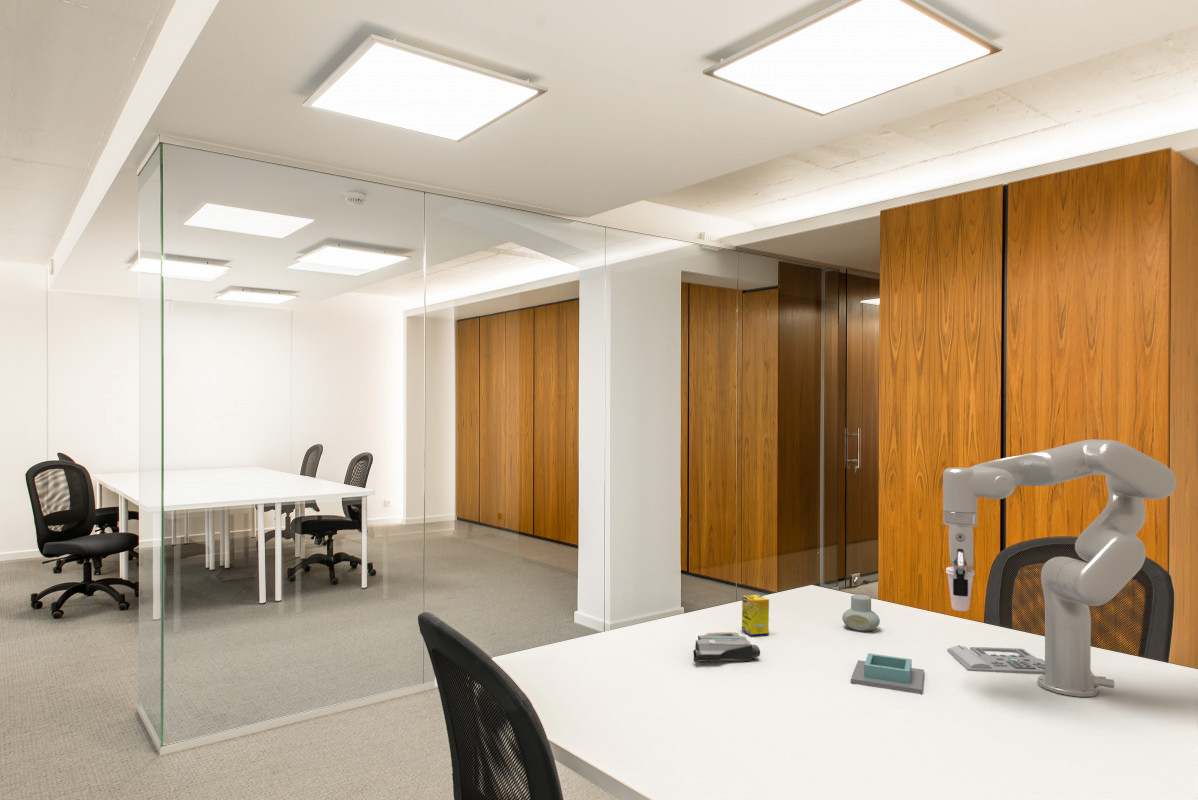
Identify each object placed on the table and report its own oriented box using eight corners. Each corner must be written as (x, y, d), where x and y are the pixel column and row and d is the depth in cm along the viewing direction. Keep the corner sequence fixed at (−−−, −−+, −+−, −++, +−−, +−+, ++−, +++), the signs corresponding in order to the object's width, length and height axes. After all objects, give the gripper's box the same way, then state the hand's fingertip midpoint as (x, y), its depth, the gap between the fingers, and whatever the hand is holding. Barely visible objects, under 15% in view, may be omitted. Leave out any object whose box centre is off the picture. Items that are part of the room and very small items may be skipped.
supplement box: (741, 631, 229) (741, 595, 229) (758, 630, 231) (759, 594, 231) (750, 637, 223) (751, 600, 223) (768, 635, 225) (769, 598, 225)
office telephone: (968, 663, 196) (941, 641, 216) (968, 674, 196) (941, 650, 216) (1062, 667, 194) (1026, 643, 214) (1062, 677, 194) (1026, 653, 214)
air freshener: (882, 628, 235) (882, 596, 235) (876, 635, 228) (876, 601, 228) (846, 623, 240) (846, 591, 241) (839, 629, 233) (839, 596, 234)
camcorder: (766, 661, 202) (766, 641, 202) (697, 669, 194) (698, 648, 194) (734, 644, 217) (734, 626, 217) (669, 651, 209) (670, 632, 210)
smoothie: (971, 614, 180) (971, 554, 180) (942, 609, 184) (942, 551, 184) (977, 608, 185) (977, 550, 185) (949, 604, 189) (949, 548, 189)
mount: (923, 673, 193) (923, 657, 193) (921, 693, 179) (921, 676, 179) (858, 663, 200) (858, 648, 200) (850, 682, 186) (850, 666, 186)
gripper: (978, 524, 175) (978, 602, 175) (976, 515, 191) (976, 587, 190) (942, 522, 178) (943, 598, 178) (943, 513, 194) (943, 584, 194)
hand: (960, 592), depth 184 cm, fingers closed on smoothie, 6 cm apart
